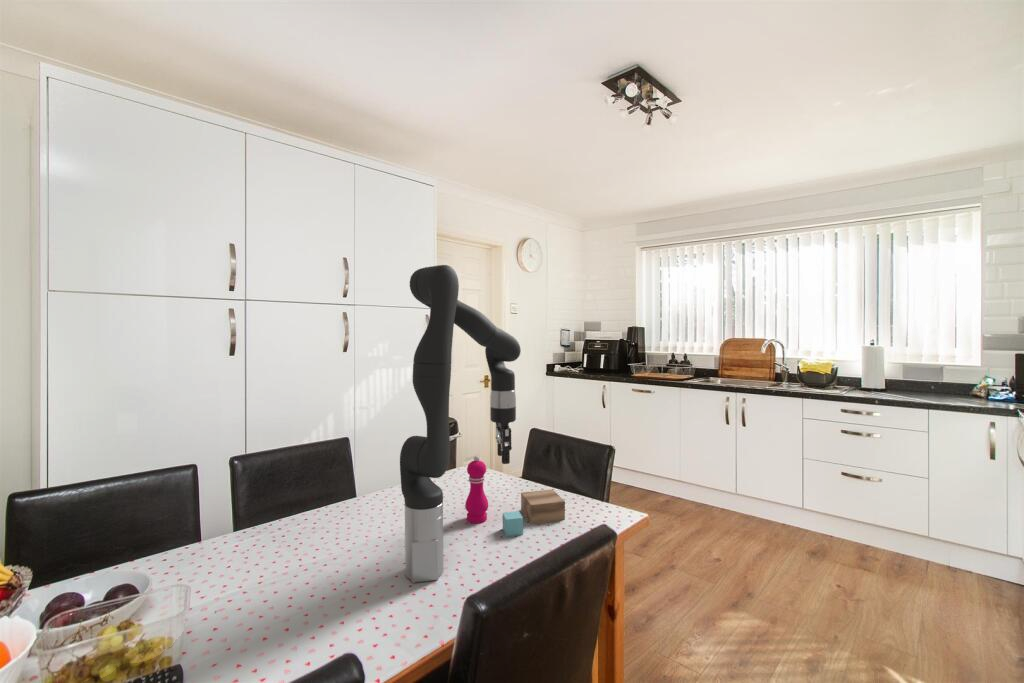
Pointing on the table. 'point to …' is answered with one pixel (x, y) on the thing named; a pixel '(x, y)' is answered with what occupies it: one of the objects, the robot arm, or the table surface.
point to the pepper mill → (476, 492)
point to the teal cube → (512, 523)
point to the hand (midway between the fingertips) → (503, 459)
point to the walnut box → (542, 506)
